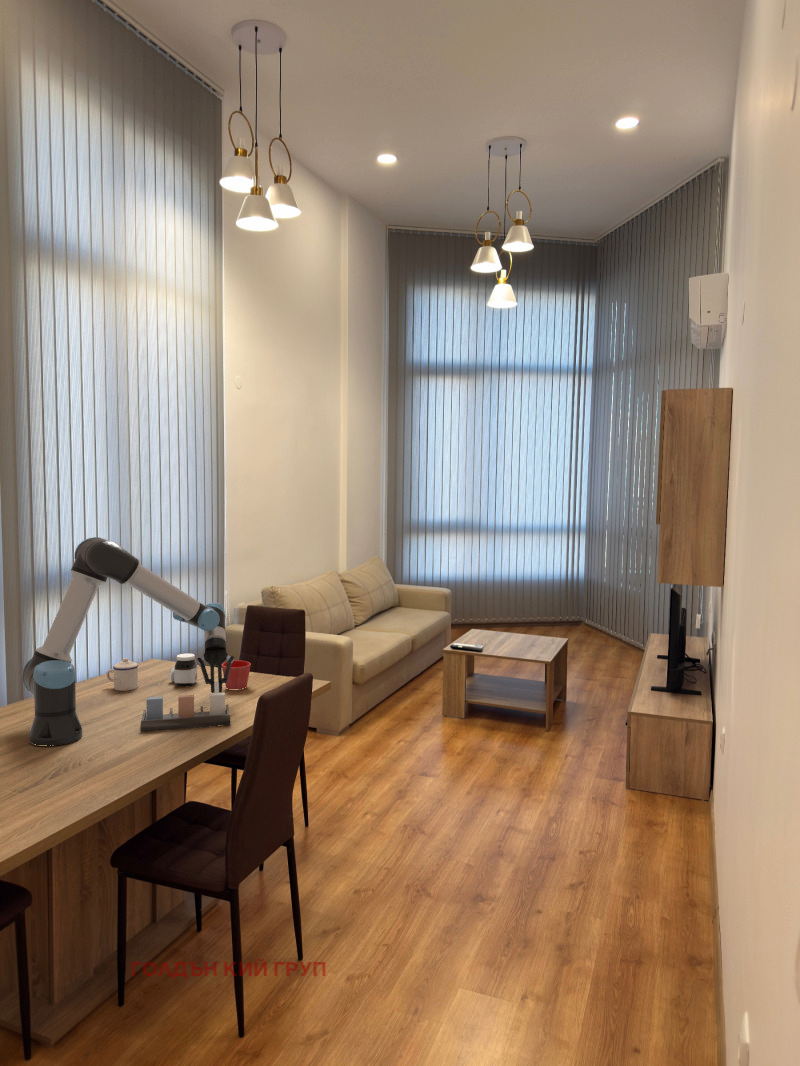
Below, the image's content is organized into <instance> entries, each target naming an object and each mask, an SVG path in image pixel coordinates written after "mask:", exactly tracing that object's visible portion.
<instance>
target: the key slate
mask: <svg viewBox="0 0 800 1066" xmlns="http://www.w3.org/2000/svg"><path fill="white" fill-rule="evenodd" d="M163 715H164V696H150V697H146V716H147V720H153V719H163Z"/></svg>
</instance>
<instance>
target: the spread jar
mask: <svg viewBox="0 0 800 1066" xmlns="http://www.w3.org/2000/svg"><path fill="white" fill-rule="evenodd" d="M195 657H196V656H195V654H194V653H180V654H177V655H176V661H175V665H174V666H173V667H172V668H171V669H170V671H169V674H168V680H170V681H171V682H173V683H174V684H175V685H176V686H178V687H180V686H181V688H182V687H183V688H185V687H186V686H189V687H192V685H193V686H195V685H196V683H197V681H198V663H197V661H196V660H197V659H195ZM194 684H195V685H194Z"/></svg>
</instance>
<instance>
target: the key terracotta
mask: <svg viewBox="0 0 800 1066" xmlns="http://www.w3.org/2000/svg"><path fill="white" fill-rule="evenodd" d="M177 697H178V698H177V699H178V700H177V701H178V704H177V705H178V713H179V718H182V717H194V712H195V694H184V695H178V696H177Z"/></svg>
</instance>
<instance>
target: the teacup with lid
mask: <svg viewBox="0 0 800 1066" xmlns="http://www.w3.org/2000/svg"><path fill="white" fill-rule="evenodd" d="M138 668H139V664H138V663H137V662H135V661H131V660H129V658H128V657H124V658H122V660H121V661H119V662H117V663H115V664H114V665H113V666H112V668H111V669H108V670H107V672H106V678H107V680H108V681H109V682H111V683H113V688H114V690H115V691H119V692H120V691H121V692H126V691H127V692H129V691H132V690H136V689H137V688H138V687H139V684H138V683H139V676H138V674H139V673H138V672H139V671H138ZM110 672H113V679H112V678H111V676H110Z"/></svg>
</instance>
